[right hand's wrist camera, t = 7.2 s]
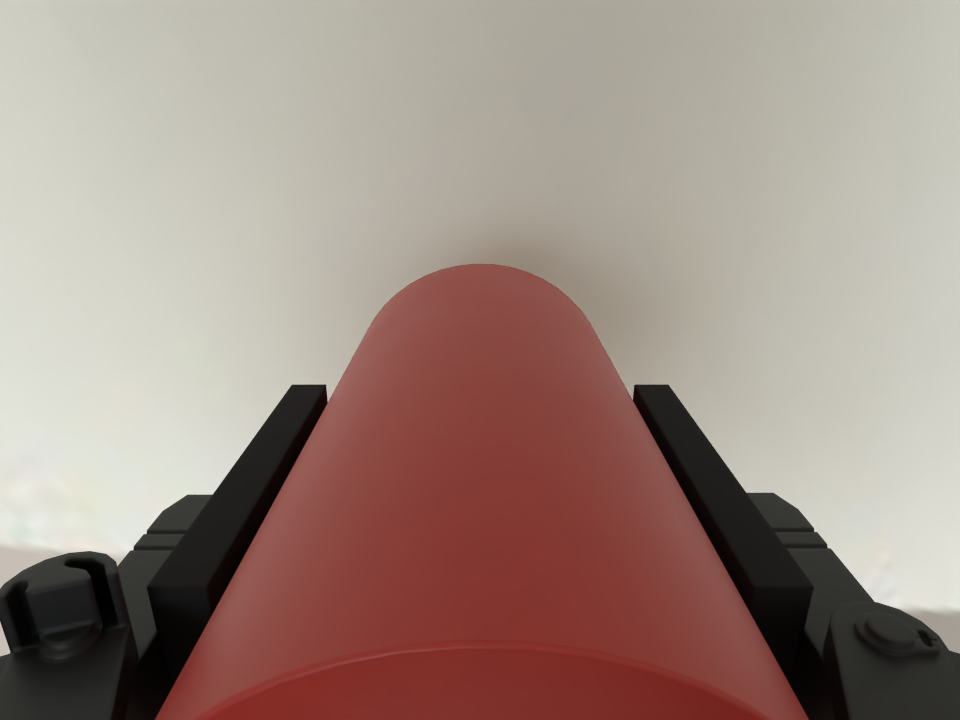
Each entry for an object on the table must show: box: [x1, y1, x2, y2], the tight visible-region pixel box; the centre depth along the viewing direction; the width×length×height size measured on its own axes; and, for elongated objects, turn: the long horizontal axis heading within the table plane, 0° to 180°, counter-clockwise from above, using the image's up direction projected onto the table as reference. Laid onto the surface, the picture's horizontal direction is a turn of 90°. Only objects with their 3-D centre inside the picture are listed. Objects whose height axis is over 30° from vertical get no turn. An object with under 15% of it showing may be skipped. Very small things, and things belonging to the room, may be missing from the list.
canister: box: [155, 264, 809, 720], centre depth 11 cm, size 7×7×13 cm
